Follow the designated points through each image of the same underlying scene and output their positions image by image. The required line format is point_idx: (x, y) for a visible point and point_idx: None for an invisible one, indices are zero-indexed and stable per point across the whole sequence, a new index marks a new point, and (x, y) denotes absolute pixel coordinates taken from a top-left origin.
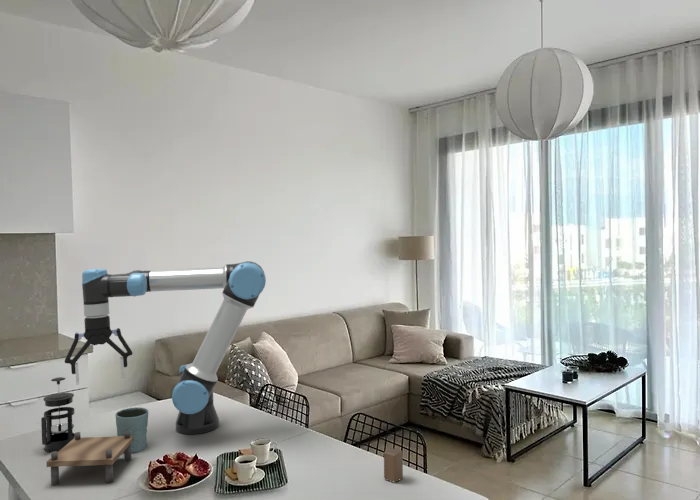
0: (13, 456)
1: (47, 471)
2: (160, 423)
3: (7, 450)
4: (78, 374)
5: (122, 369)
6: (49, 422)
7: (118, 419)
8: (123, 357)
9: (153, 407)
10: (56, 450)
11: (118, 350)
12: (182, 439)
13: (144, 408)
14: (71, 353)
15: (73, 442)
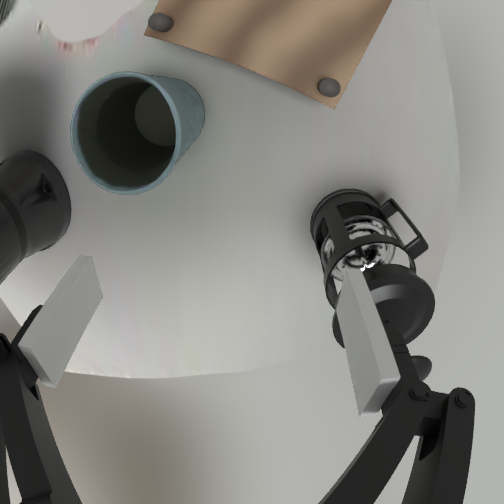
0: (440, 218)
1: (390, 65)
2: (107, 264)
3: (440, 261)
4: (350, 336)
5: (61, 290)
6: (400, 239)
7: (174, 98)
8: (20, 358)
9: (137, 358)
10: (361, 192)
11: (12, 411)
12: (55, 129)
13: (82, 167)
14: (446, 466)
15: (341, 64)
